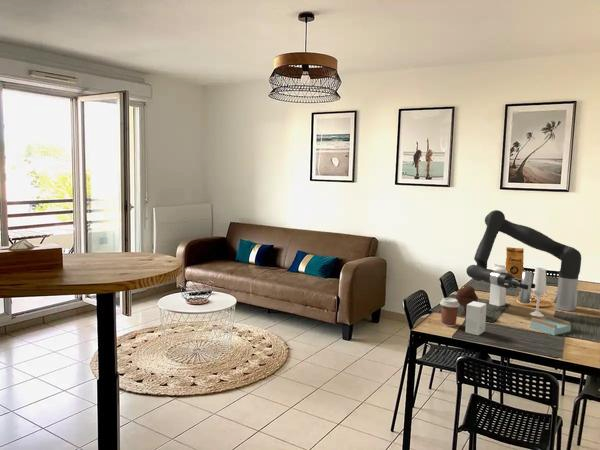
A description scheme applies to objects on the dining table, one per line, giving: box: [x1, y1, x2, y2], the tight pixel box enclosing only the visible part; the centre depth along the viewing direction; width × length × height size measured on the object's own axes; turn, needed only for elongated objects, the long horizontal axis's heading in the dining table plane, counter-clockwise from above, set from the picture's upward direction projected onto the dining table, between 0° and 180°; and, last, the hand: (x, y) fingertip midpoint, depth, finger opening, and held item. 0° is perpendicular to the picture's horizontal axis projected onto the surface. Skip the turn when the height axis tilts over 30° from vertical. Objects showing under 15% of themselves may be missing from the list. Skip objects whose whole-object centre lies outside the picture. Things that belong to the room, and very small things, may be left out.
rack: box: [529, 314, 572, 336], centre depth 225 cm, size 12×12×4 cm
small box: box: [464, 301, 487, 336], centre depth 219 cm, size 8×6×13 cm
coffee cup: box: [439, 297, 461, 327], centre depth 229 cm, size 9×9×12 cm
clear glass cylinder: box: [519, 270, 533, 304], centre depth 235 cm, size 4×4×15 cm
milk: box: [488, 263, 507, 307], centre depth 265 cm, size 6×6×22 cm
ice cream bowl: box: [455, 285, 479, 317], centre depth 245 cm, size 11×11×15 cm
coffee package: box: [505, 246, 525, 279], centre depth 327 cm, size 10×12×22 cm
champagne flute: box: [529, 267, 547, 317], centre depth 247 cm, size 7×7×24 cm
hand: (531, 286), depth 233 cm, fingers closed on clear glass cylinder, 4 cm apart
